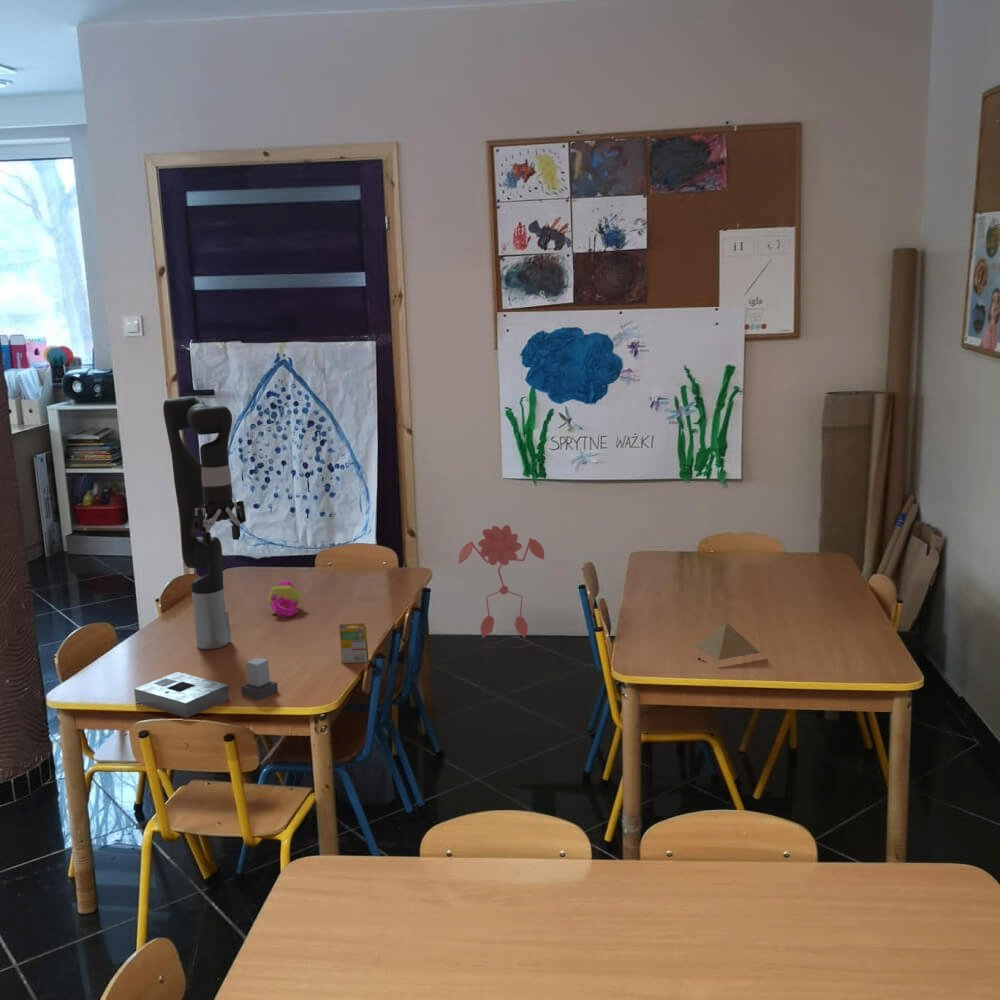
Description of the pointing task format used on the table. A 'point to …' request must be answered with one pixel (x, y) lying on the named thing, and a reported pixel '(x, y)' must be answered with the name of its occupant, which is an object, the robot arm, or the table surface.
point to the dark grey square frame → (259, 691)
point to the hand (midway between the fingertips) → (222, 542)
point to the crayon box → (353, 643)
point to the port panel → (182, 694)
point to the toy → (284, 599)
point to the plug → (258, 673)
